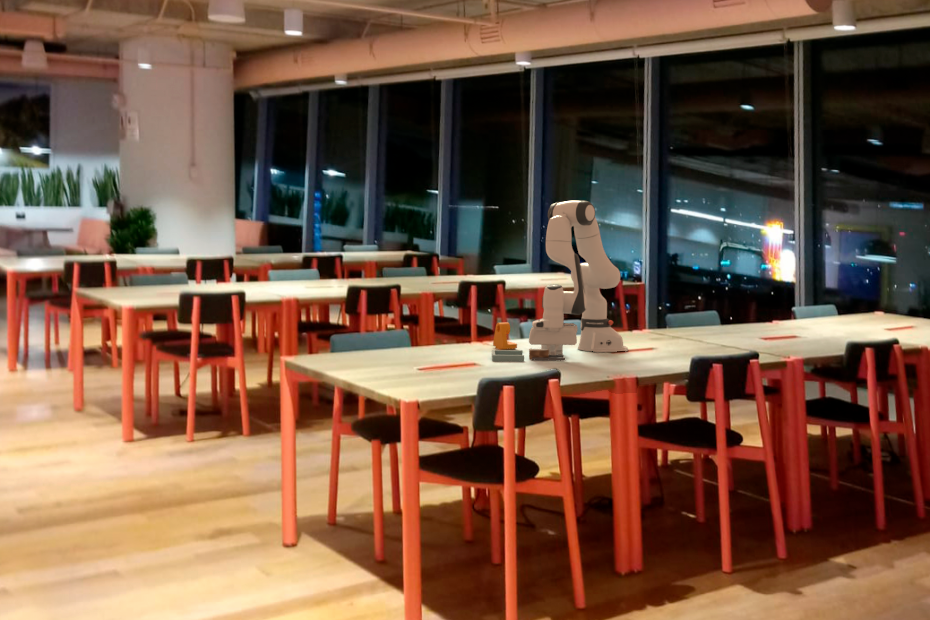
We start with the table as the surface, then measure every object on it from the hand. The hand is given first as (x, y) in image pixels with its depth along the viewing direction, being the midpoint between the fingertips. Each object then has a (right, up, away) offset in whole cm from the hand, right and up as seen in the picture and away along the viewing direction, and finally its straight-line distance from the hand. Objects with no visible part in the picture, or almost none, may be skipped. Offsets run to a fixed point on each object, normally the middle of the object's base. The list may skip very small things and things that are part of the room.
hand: (552, 355), depth 435 cm
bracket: (-19, +1, +29) cm, 35 cm away
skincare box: (+1, 0, +17) cm, 17 cm away
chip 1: (-8, -2, 0) cm, 8 cm away
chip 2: (-4, -2, 0) cm, 4 cm away
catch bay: (-18, -1, 0) cm, 18 cm away
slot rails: (-2, -2, 0) cm, 3 cm away
